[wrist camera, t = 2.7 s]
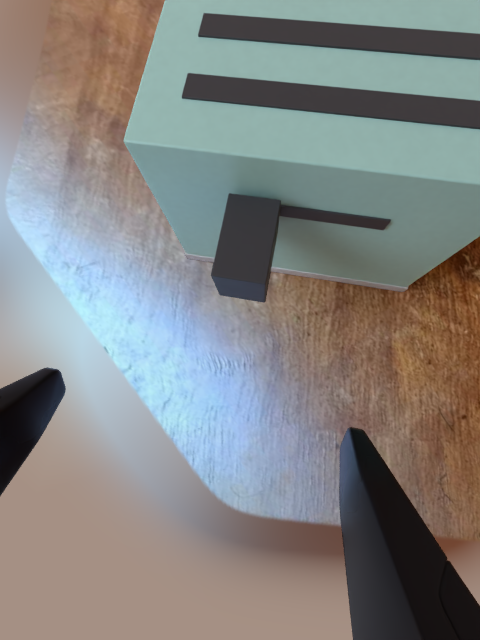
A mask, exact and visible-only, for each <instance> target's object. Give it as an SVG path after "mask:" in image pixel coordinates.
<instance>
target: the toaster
mask: <svg viewBox="0 0 480 640" xmlns="http://www.w3.org/2000/svg"><path fill="white" fill-rule="evenodd" d="M124 143H125V145H126V147H127V148H128V150H129V152H130V154H131V156H132V157H133V159H134V161H135V163H136V165H137V166H138V168H139V170H140V172H141V173H142V175H143V177H144V179H145V181H146V182H147V184H148V186H149V188H150V190H151V191H152V193H153V195H154V197H155V198H156V200H157V202H158V204H159V206H160V207H161V209H162V211H163V213H164V215H165V216H166V218H167V220H168V222H169V223H170V225H171V227H172V229H173V231H174V232H175V234H176V236H177V238H178V240H179V241H180V243H181V245H182V247H183V248H184V250H185V253H184V255H185V256H186V258H188V259H194V260H201V261H207V262H213V263H214V259H215V254H216V250H217V245H218V240H219V236H220V231H221V226H222V222H223V217H224V213H225V208H226V203H227V199H228V194H229V193H231V194H239V195H247V196H254V197H262V198H269V199H277V200H281V207H280V217H279V226H278V234H277V240H276V245H275V251H274V256H273V262H272V267H271V272H278V273H284V274H291V275H297V276H303V277H310V278H316V279H323V280H329V281H336V282H342V283H348V284H355V285H361V286H368V287H374V288H380V289H387V290H393V291H400V292H404V291H406V290H407V289H408V286H409V285H410V284H412V283H413V282H415V281H416V280H417V279H419V278H420V277H422V276H423V275H425V274H426V273H428V272H429V271H430V270H432V269H433V268H435V267H436V266H438V265H439V264H441V263H442V262H443V261H445V260H446V259H448V258H449V257H451V256H452V255H453V254H455V253H456V252H458V251H459V250H461V249H462V248H464V247H465V246H466V245H468V244H469V243H471V242H472V241H474V240H475V239H477V238H478V237H479V236H480V0H165V2H164V6H163V9H162V12H161V16H160V19H159V22H158V26H157V29H156V33H155V36H154V39H153V43H152V46H151V49H150V53H149V56H148V60H147V63H146V66H145V70H144V73H143V76H142V80H141V83H140V86H139V90H138V93H137V97H136V100H135V103H134V107H133V110H132V113H131V117H130V120H129V123H128V127H127V130H126V134H125V137H124Z"/></svg>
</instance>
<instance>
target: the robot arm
mask: <svg viewBox="0 0 480 640" xmlns="http://www.w3.org/2000/svg"><path fill="white" fill-rule="evenodd" d="M64 394H65V384H64V381H63V378H62V375H61V372H60V371H59V370H57V369H53V368H44V369H41V370H39V371H37V372H35V373H33V374H31V375H29V376H26V377H24V378H22V379H20V380H18V381H16V382H14V383H12V384H10V385H7V386H5V387H3V388H1V389H0V496H1V494H2V493H3V491H4V490H5V488H6V487H7V485H8V484H9V483H10V481H11V480H12V478H13V477H14V475H15V474H16V473H17V471H18V469H19V468H20V467H21V465H22V464H23V462H24V461H25V460H26V458H27V457H28V455H29V454H30V452H31V451H32V449H33V448H34V446H35V445H36V443H37V442H38V440H39V439H40V437H41V436H42V434H43V432H44V431H45V429H46V427H47V425H48V423H49V422H50V420H51V418H52V416H53V414H54V412H55V411H56V409H57V407H58V405H59V403H60V402H61V400H62V398H63V396H64ZM339 505H340V517H341V527H342V537H343V546H344V556H345V566H346V576H347V585H348V596H349V605H350V615H351V625H352V634H353V640H480V606H479V604H478V603H477V601H476V600H475V598H474V597H473V595H472V594H471V593H470V591H469V590H468V588H467V587H466V585H465V584H464V582H463V581H462V579H461V578H460V577H459V575H458V573H457V572H456V570H455V569H454V567H453V566H452V564H451V562H450V561H447V557H446V555H445V553H444V552H443V550H442V549H441V547H440V546H439V544H438V543H437V541H436V540H435V538H434V537H433V535H432V534H431V532H430V531H429V529H428V528H427V526H426V524H425V523H424V521H423V520H422V518H421V517H420V515H419V514H418V512H417V511H416V509H415V508H414V506H413V505H412V503H411V502H410V500H409V498H408V497H407V495H406V494H405V492H404V491H403V489H402V488H401V486H400V485H399V483H398V482H397V480H396V479H395V477H394V476H393V474H392V472H391V471H390V469H389V468H388V466H387V465H386V463H385V462H384V460H383V459H382V457H381V456H380V454H379V453H378V451H377V450H376V448H375V447H374V445H373V443H372V442H371V440H370V439H369V437H368V436H367V434H366V433H365V431H363V430H362V429H358V428H352V427H349V428H348V429H347V431H346V433H345V436H344V438H343V441H342V443H341V446H340V485H339Z"/></svg>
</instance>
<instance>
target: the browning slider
mask: <svg viewBox="0 0 480 640" xmlns="http://www.w3.org/2000/svg"><path fill="white" fill-rule="evenodd" d="M280 207H281V200H277V199H269V198H262V197H254V196H247V195H239V194H231V193H229V194H228V199H227V203H226V208H225V213H224V217H223V222H222V226H221V231H220V236H219V240H218V245H217V250H216V254H215V259H214V263H213V268H212V273H211V276H212V279H213V281H214V283H215V285H216V288H217V290H218V292H219V294H220V295H223V296H229V297H235V298H241V299H247V300H253V301H259V302H265V301H266V295H267V290H268V284H269V279H270V273H271V267H272V262H273V256H274V251H275V245H276V240H277V234H278V226H279V217H280Z"/></svg>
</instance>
